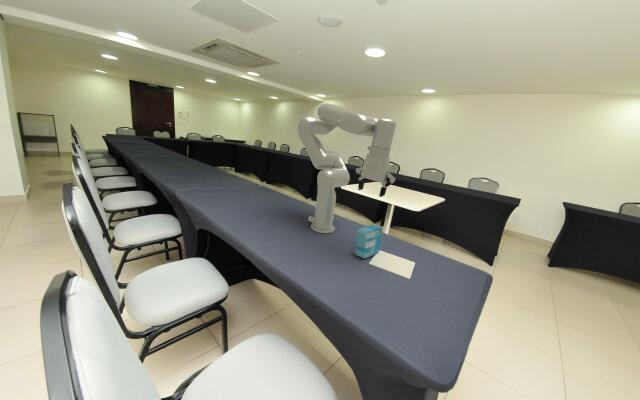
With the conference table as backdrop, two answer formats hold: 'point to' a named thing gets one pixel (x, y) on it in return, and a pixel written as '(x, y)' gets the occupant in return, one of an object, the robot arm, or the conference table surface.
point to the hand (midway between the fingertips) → (370, 192)
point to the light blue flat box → (368, 241)
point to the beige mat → (393, 264)
